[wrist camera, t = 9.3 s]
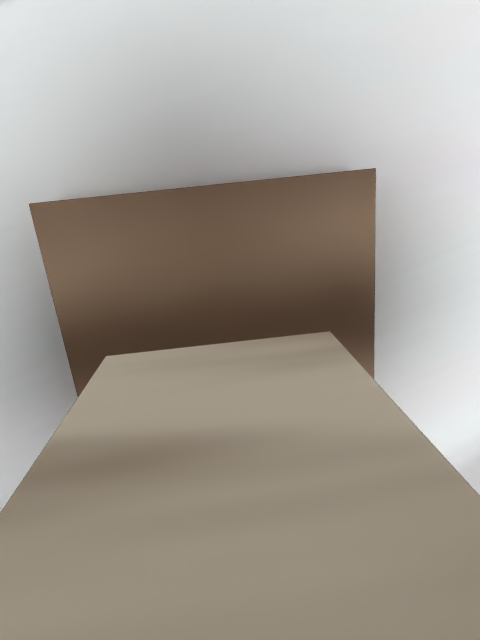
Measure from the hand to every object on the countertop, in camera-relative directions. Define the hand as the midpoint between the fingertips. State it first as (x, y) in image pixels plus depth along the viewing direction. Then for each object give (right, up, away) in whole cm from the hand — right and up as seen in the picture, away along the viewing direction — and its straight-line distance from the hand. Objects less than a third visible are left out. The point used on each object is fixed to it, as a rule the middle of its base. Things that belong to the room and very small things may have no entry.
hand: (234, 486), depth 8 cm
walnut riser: (-1, +3, +10) cm, 11 cm away
